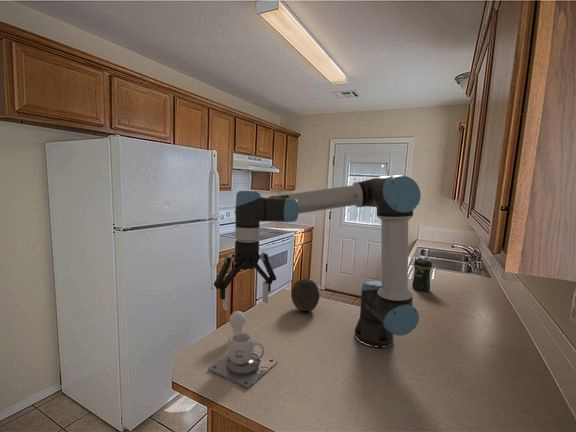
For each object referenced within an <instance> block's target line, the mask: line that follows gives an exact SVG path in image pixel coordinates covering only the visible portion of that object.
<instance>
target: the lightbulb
mask: <svg viewBox="0 0 576 432" xmlns="http://www.w3.org/2000/svg"><path fill="white" fill-rule="evenodd" d="M246 319H247V318H246V315H245V313H244V312H242V311H241V310H236V311H233V312H232V313H231V315H230V316H229V323H230V325H231V328H232V333H233V334H234V333H238V332H243V331H242V330H243V327H244V325H245V323H246Z"/></svg>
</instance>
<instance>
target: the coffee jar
mask: <svg viewBox="0 0 576 432" xmlns="http://www.w3.org/2000/svg"><path fill="white" fill-rule="evenodd" d="M413 267H414V273H413V279H412V284H411V285H412V287H411V288H412V289H414V290H417V291H420V292H429V291H430V290H431V270H432V268H433V264H432V261H431V260H426V259H422V258H416V259H415V260H414V263H413Z"/></svg>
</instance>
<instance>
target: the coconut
mask: <svg viewBox="0 0 576 432" xmlns="http://www.w3.org/2000/svg"><path fill="white" fill-rule="evenodd" d="M290 295H291V296H290V297H291V301H292V304H293V305H294V307H295V308H296V309H298V311H300V310H301V311H300V312H302V311H310V312H312V311H314V310H315V309H316V307H317V305H319V301H320V291H319V286H318V284H317V283H316V282H315V281H314V280H313V279H309V278H308V279H306V278H304V279H303V278H302V279H299V280H297V281H296V282H294V284H293V286H292V288H291V292H290Z"/></svg>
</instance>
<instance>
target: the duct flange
mask: <svg viewBox="0 0 576 432" xmlns="http://www.w3.org/2000/svg"><path fill="white" fill-rule="evenodd" d="M252 355H254V356H256V357H259V356H258V355H257V354H255V353H253V354H252ZM269 361H270V362H273V360H269ZM260 363H261V360H260V359H254V358H253V357H251V359H250V360H249V361H248V362H247V363H246V364H242V365H237V364H234V363H233V362H232V361H231V360H230V358H229V355H228V354H226V355H225V356H223V357H222V358H220V359H219V360H218V361H215V363H213V364H212V365H210V366H209V367H207V371H208V370H210V371H212V372H214V373H216V374H218V375H220V376H222V377H224V378H225V379H224V378H223V379H224V380H226V379H228V380H230V381H229V382H231V381H232V382H231V383H233V382H234V383H233V384H235V383H236V384H235V385H237V384H238V385H237V386H239V385H240V386H239V387H241V386H242V387H241V388H243V387H244V388H243V389H245V388H246V389H245V390H247V389H248V388H249V387H250V386H251V385H252V384H253V383H254V382H255V381H256V380H257V379H258V378H259V377H260V376H261V375H262V374H263V373H264V372H265V371H266V370H260V368H262V369H263V368H267V369H268V367H261V366H260ZM270 367H271V366H270ZM210 371H209V372H210ZM212 372H211V373H212ZM214 373H213V374H214ZM216 374H215V375H216ZM218 375H217V376H218ZM220 376H219V377H220ZM222 377H221V378H222ZM228 380H227V381H228ZM254 384H255V383H254ZM254 384H253V385H254ZM253 385H252V386H253ZM252 386H251V387H252ZM251 387H250V388H251ZM250 388H249V389H250ZM249 389H248V390H249Z"/></svg>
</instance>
